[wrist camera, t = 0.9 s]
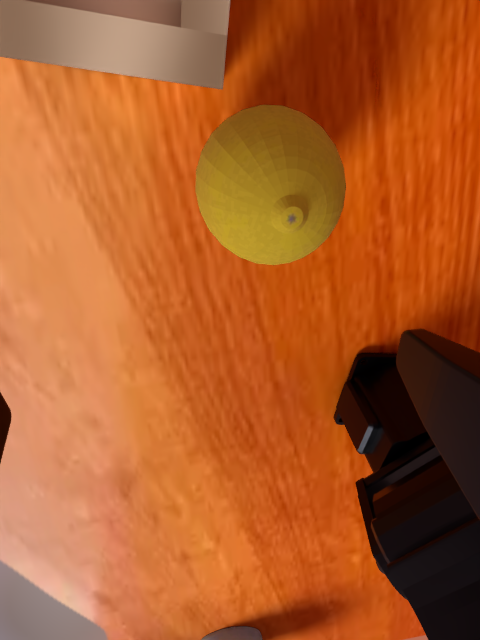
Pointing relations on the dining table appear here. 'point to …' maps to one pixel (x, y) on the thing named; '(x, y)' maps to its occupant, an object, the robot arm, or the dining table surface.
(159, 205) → the dining table surface
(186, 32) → the base
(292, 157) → the lemon
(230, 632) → the gray tapered pot
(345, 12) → the dining table surface
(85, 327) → the dining table surface
